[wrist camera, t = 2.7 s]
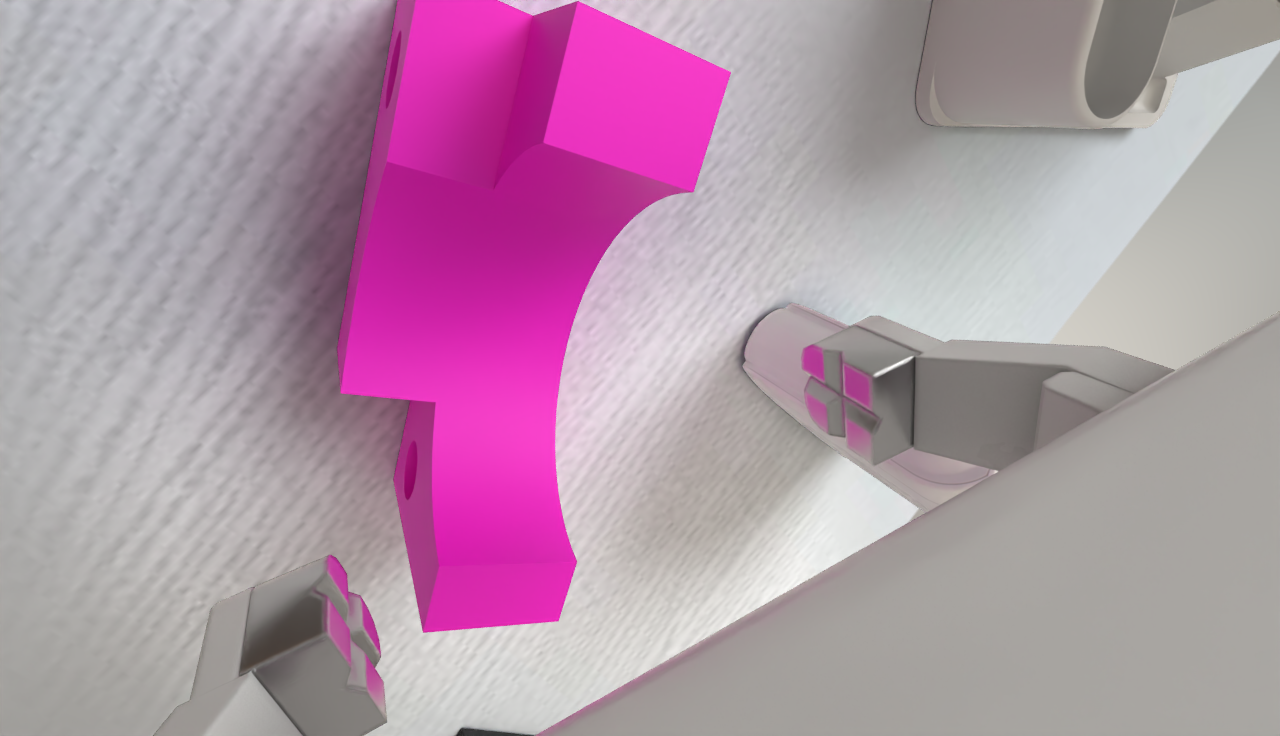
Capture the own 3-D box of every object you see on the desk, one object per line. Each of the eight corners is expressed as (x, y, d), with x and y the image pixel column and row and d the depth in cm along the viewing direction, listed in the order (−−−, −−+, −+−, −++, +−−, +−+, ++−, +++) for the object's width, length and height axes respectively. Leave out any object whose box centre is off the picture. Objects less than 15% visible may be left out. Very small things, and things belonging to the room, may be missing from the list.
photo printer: (892, 392, 32) (1160, 533, 22) (841, 458, 32) (1083, 628, 22) (783, 282, 26) (1078, 405, 16) (721, 363, 26) (974, 536, 16)
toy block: (398, -7, 17) (446, -61, 11) (602, 77, 20) (730, 72, 14) (314, 477, 21) (313, 642, 15) (496, 483, 24) (558, 621, 18)
